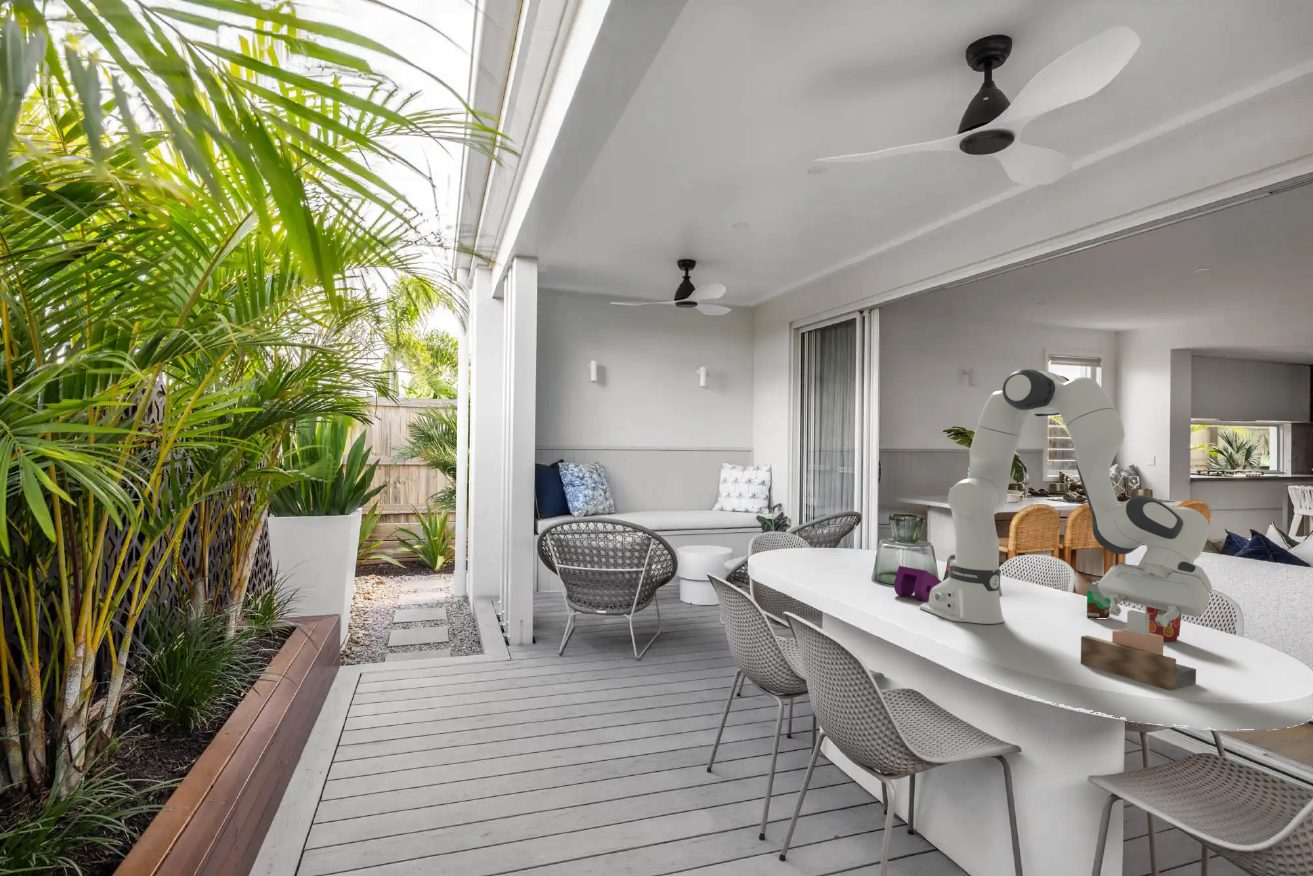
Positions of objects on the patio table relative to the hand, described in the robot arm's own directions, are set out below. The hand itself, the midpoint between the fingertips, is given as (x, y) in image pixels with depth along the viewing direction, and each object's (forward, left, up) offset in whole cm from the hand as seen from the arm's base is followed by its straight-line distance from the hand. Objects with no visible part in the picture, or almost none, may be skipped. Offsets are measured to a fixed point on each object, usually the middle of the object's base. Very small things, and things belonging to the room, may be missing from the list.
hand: (1135, 619), depth 150 cm
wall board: (0, 0, -12) cm, 12 cm away
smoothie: (-13, +36, -12) cm, 40 cm away
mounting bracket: (-71, +16, -12) cm, 74 cm away
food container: (-33, +44, -12) cm, 56 cm away
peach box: (0, +1, -9) cm, 9 cm away
